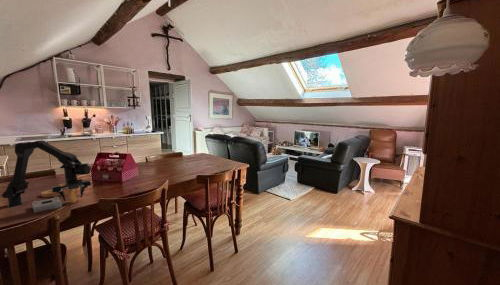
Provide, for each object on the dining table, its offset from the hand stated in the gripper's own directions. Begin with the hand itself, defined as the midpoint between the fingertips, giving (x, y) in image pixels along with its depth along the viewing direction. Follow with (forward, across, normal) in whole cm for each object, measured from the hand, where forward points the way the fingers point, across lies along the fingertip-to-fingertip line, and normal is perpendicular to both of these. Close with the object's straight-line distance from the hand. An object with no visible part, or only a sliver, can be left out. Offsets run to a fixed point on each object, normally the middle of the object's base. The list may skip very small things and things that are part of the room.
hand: (73, 199), depth 139 cm
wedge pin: (+2, 0, 0) cm, 2 cm away
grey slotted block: (+2, -12, +2) cm, 12 cm away
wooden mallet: (+2, -4, +26) cm, 26 cm away
